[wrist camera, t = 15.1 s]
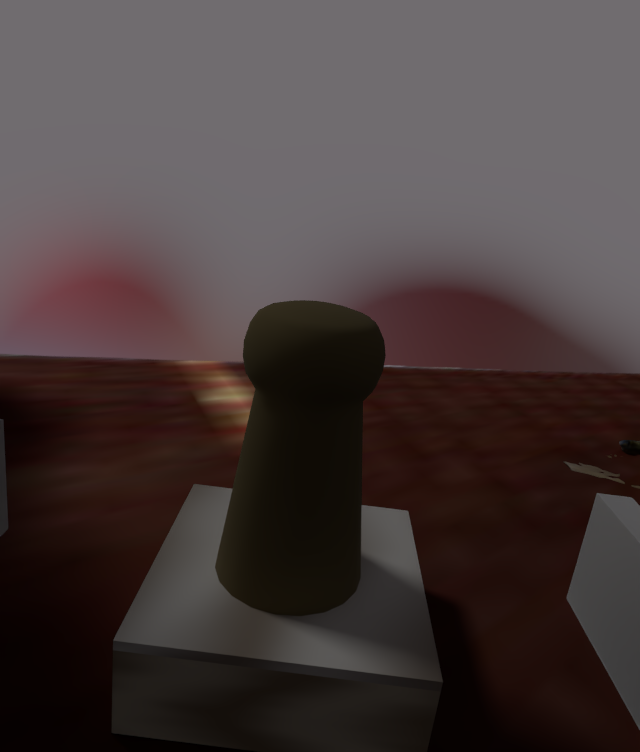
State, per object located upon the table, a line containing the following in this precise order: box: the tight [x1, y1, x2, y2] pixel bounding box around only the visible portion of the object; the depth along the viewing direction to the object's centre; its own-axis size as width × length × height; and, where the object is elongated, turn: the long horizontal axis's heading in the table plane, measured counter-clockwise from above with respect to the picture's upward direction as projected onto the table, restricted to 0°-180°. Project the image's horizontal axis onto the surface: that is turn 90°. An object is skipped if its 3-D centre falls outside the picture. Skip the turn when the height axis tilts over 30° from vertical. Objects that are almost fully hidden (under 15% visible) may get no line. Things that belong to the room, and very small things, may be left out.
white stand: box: [112, 484, 443, 752], centre depth 25 cm, size 11×11×4 cm
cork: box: [215, 301, 385, 616], centre depth 23 cm, size 6×6×11 cm
